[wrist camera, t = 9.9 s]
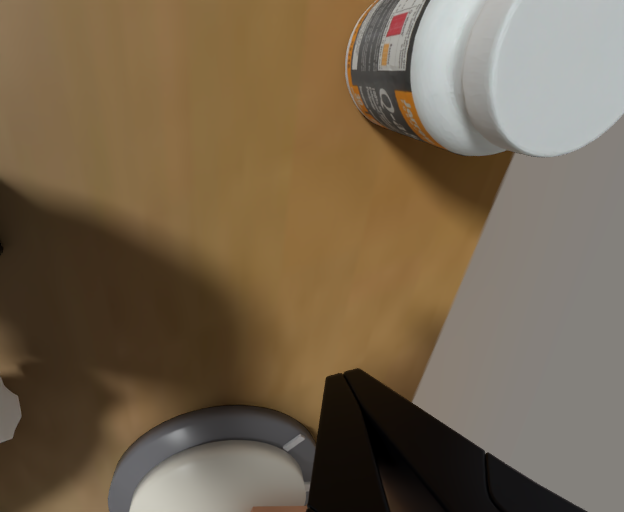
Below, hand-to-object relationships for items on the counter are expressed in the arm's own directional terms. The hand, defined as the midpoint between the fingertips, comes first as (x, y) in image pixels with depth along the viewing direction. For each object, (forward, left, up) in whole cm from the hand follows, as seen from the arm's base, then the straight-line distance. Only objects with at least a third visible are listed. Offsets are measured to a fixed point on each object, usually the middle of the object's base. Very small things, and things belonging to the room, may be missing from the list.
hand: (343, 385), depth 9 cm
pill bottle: (+7, +6, -12) cm, 15 cm away
